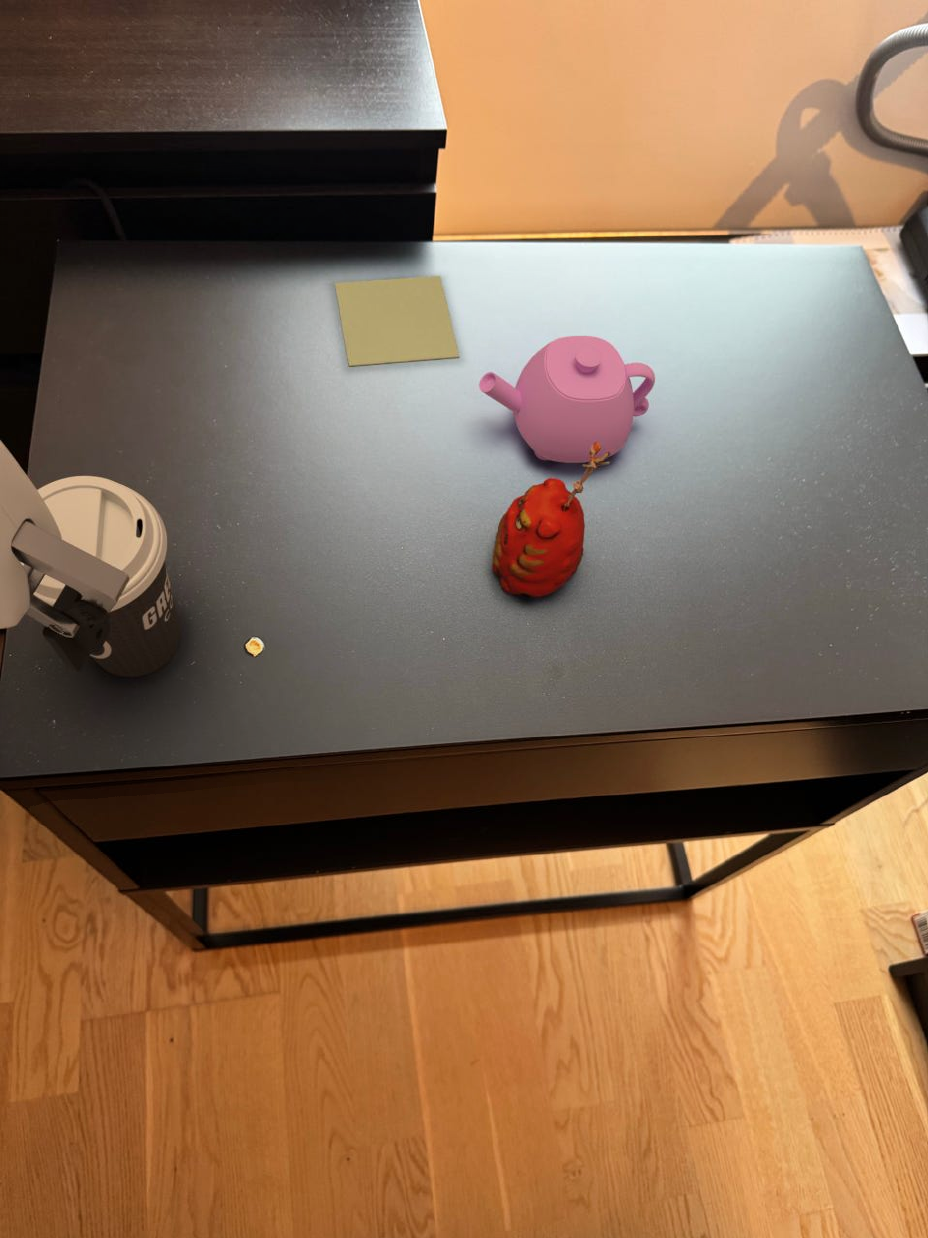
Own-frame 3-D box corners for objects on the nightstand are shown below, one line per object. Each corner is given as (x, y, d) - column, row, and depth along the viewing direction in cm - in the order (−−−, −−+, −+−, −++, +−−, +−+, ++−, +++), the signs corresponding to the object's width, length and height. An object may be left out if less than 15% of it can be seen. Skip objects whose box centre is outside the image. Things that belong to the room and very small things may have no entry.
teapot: (650, 475, 78) (683, 404, 70) (478, 482, 76) (492, 411, 68) (627, 380, 83) (656, 304, 74) (464, 385, 81) (475, 307, 72)
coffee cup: (169, 713, 65) (116, 621, 51) (44, 674, 65) (-41, 573, 52) (222, 601, 69) (186, 489, 56) (104, 565, 70) (41, 446, 56)
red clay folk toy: (492, 520, 75) (518, 401, 61) (576, 528, 75) (620, 412, 62) (487, 602, 71) (514, 495, 58) (576, 610, 72) (622, 506, 58)
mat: (348, 366, 80) (348, 365, 80) (334, 283, 85) (334, 282, 84) (459, 357, 82) (459, 356, 82) (440, 276, 86) (440, 275, 86)
